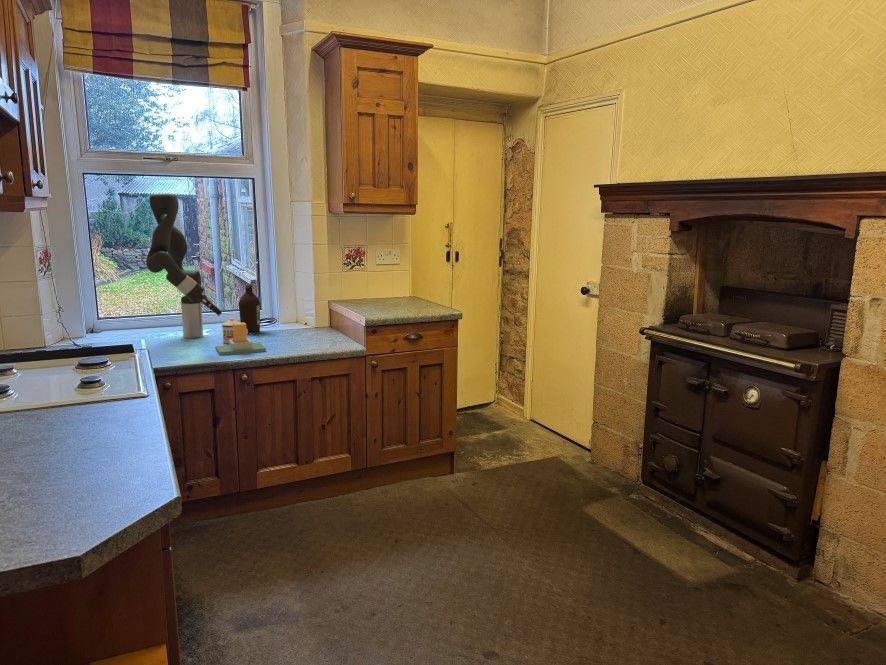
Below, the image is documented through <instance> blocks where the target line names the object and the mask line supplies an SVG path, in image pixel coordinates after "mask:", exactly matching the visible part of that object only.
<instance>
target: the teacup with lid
mask: <svg viewBox="0 0 886 665" xmlns="http://www.w3.org/2000/svg"><path fill="white" fill-rule="evenodd" d="M233 323H240V322H239V321H237V320H235V319H234V317H230V318H229V319H228V320H227V321H224V322H223V323H222V324H221V327H222V341H223V343H224V344H227V343H228V344H227V345H229V340H231V339H233ZM246 334H247V335H249V334H248V330H247V329H246Z"/></svg>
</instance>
